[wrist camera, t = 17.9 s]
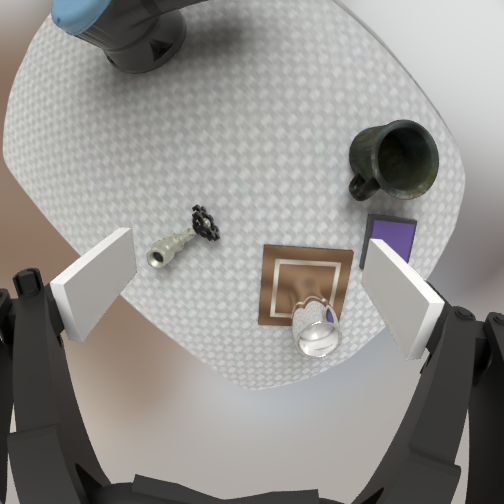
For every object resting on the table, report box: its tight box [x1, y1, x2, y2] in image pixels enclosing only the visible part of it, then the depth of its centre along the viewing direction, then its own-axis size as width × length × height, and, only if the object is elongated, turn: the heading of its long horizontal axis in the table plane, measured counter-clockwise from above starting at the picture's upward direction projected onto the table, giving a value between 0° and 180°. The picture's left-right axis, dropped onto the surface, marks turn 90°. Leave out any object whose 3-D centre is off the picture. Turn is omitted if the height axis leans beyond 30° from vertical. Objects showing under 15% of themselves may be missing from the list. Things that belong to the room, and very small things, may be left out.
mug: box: [349, 120, 439, 201], centre depth 37 cm, size 11×15×12 cm
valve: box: [147, 205, 220, 270], centre depth 45 cm, size 7×7×12 cm
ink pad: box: [359, 214, 417, 269], centre depth 47 cm, size 10×10×2 cm
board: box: [258, 244, 354, 326], centre depth 51 cm, size 16×16×1 cm
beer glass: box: [289, 276, 342, 358], centre depth 43 cm, size 7×7×15 cm
